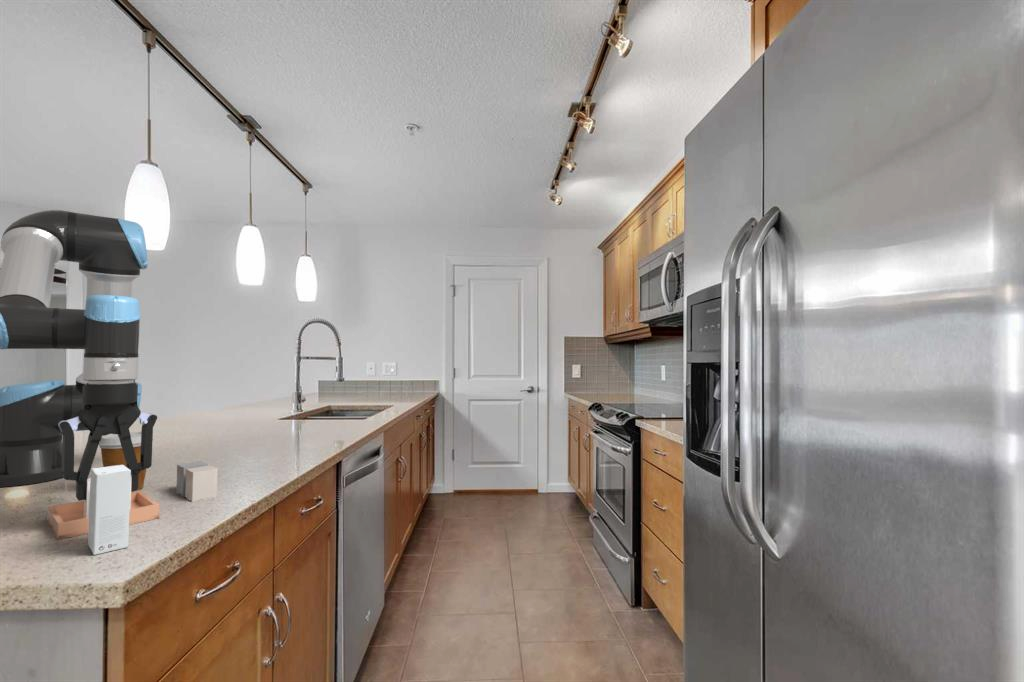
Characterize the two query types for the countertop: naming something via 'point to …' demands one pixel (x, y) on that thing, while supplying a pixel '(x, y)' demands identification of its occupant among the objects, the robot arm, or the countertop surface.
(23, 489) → the countertop surface
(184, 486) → the grey rectangular block
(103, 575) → the countertop surface
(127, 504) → the skincare box
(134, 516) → the dish
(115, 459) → the disposable coffee cup
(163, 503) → the countertop surface
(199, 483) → the beige rectangular block
